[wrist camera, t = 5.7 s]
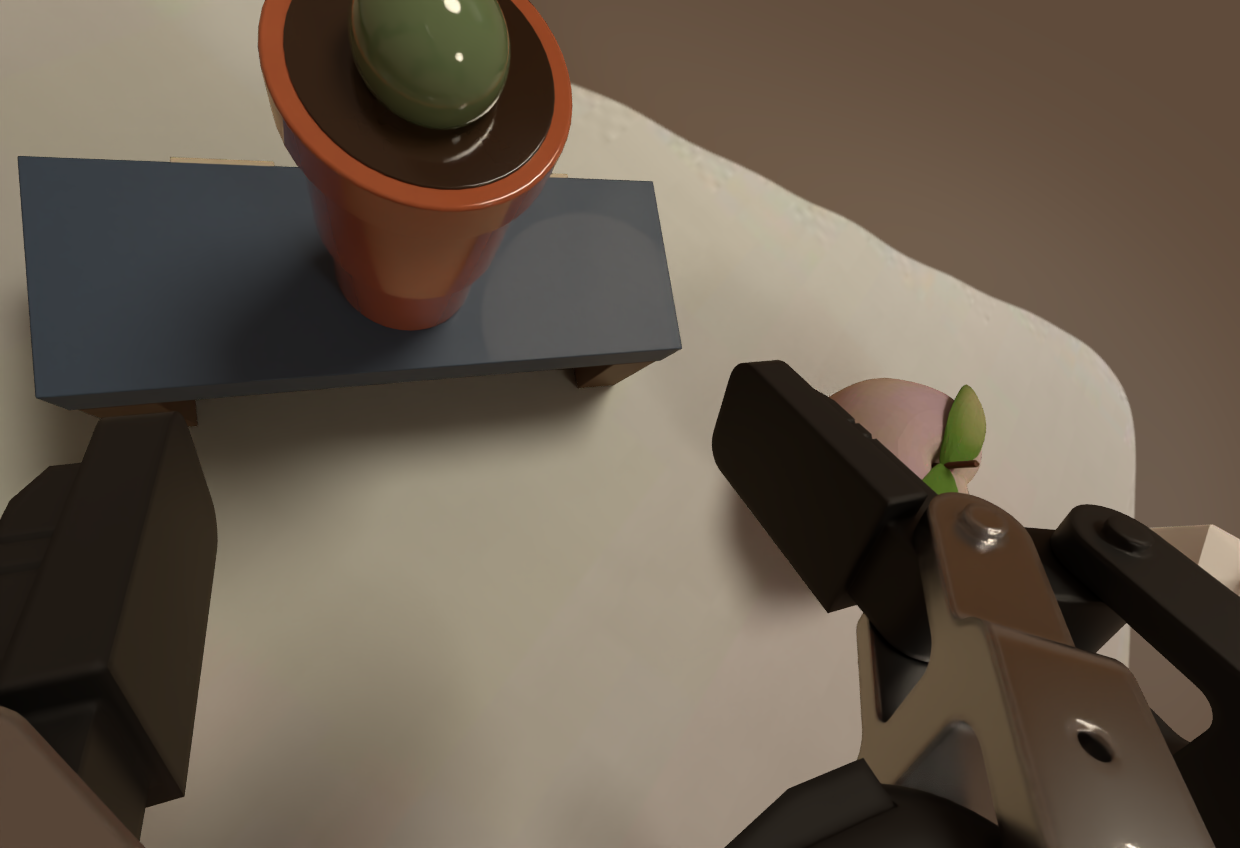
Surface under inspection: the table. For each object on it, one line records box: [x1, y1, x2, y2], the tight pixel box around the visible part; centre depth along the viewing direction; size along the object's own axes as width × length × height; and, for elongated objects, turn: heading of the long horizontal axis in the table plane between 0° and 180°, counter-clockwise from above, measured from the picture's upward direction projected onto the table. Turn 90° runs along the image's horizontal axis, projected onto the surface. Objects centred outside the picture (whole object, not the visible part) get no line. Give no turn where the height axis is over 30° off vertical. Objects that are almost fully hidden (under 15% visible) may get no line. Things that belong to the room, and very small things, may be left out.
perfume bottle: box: [1150, 525, 1240, 597], centre depth 31 cm, size 5×4×15 cm
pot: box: [258, 0, 572, 331], centre depth 15 cm, size 6×6×12 cm
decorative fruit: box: [829, 378, 986, 495], centre depth 30 cm, size 9×8×10 cm
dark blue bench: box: [18, 156, 682, 427], centre depth 24 cm, size 20×7×7 cm, turn 101°
